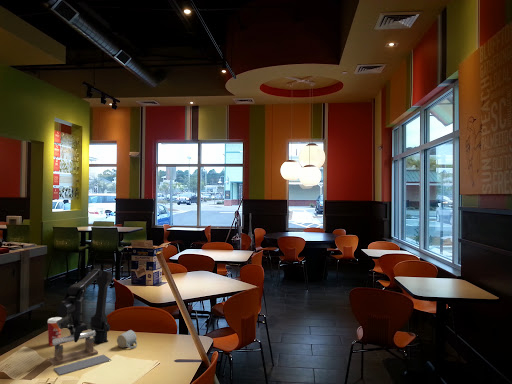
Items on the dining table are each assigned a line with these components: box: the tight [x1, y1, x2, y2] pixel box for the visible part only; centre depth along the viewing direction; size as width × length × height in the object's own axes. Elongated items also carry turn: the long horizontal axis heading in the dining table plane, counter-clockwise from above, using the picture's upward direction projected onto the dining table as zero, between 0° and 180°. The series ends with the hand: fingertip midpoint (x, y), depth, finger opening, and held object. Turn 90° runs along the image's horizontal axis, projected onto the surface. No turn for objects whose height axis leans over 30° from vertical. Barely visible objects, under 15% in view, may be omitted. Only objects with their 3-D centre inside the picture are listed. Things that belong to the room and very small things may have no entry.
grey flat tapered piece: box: [53, 354, 112, 376], centre depth 183 cm, size 24×9×1 cm, turn 135°
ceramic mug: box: [116, 329, 138, 350], centre depth 208 cm, size 11×8×8 cm
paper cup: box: [47, 316, 63, 347], centre depth 210 cm, size 8×8×14 cm
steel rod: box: [52, 330, 96, 347], centre depth 192 cm, size 20×3×3 cm, turn 135°
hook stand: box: [48, 337, 99, 367], centre depth 191 cm, size 21×8×8 cm, turn 135°
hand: (74, 341), depth 191 cm, fingers closed on steel rod, 3 cm apart
